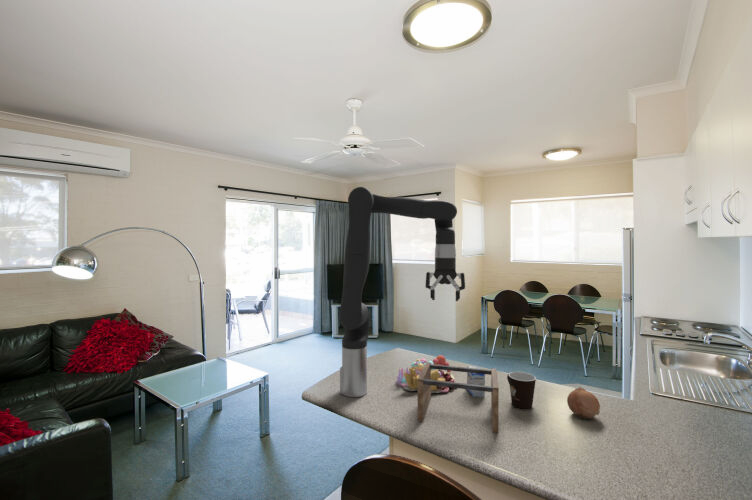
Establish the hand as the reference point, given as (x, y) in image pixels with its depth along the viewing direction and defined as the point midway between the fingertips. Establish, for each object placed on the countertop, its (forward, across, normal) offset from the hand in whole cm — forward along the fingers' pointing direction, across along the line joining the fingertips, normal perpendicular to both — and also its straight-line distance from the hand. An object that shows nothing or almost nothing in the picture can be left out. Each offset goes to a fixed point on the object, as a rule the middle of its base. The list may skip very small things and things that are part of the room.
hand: (445, 300), depth 130 cm
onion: (+34, +44, -6) cm, 56 cm away
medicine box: (+34, +11, +3) cm, 36 cm away
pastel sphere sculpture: (+35, -8, +8) cm, 37 cm away
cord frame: (+34, +6, -16) cm, 38 cm away
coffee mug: (+34, +26, -2) cm, 43 cm away
